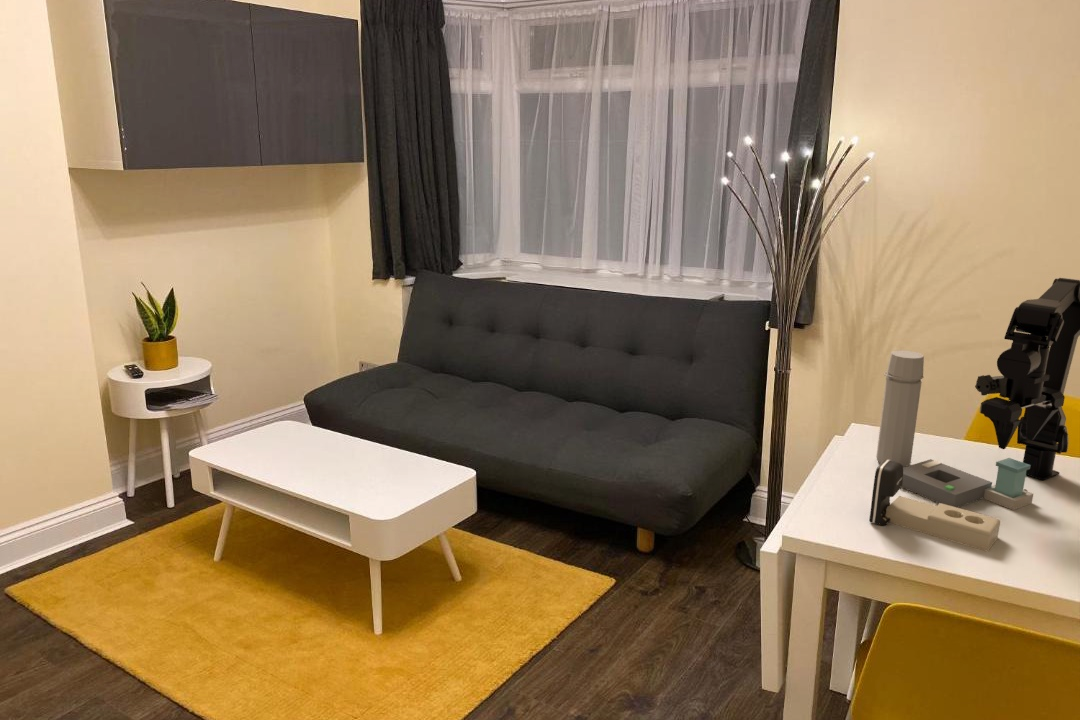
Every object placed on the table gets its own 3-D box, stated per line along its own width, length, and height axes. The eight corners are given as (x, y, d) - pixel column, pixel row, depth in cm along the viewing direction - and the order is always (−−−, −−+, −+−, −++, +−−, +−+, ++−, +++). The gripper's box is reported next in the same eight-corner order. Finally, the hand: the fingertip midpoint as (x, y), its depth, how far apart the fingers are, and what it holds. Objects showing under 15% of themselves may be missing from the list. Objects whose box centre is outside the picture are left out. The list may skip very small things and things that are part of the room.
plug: (1003, 494, 176) (1009, 457, 174) (1024, 502, 173) (1030, 465, 171) (990, 498, 174) (996, 461, 172) (1011, 507, 171) (1017, 469, 168)
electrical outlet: (900, 491, 168) (1001, 518, 157) (897, 510, 170) (997, 539, 159) (887, 503, 163) (990, 532, 152) (884, 523, 164) (987, 553, 153)
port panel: (928, 472, 187) (930, 457, 186) (989, 495, 175) (992, 480, 174) (892, 483, 181) (894, 468, 180) (953, 509, 169) (955, 493, 169)
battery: (889, 529, 161) (896, 472, 158) (868, 523, 163) (875, 467, 160) (899, 516, 166) (906, 460, 163) (878, 510, 168) (886, 456, 165)
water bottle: (917, 469, 188) (932, 359, 181) (881, 469, 188) (895, 358, 181) (900, 453, 197) (914, 347, 190) (866, 453, 197) (879, 347, 190)
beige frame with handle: (1009, 488, 179) (1011, 479, 179) (1040, 499, 174) (1042, 490, 173) (982, 497, 174) (984, 488, 174) (1013, 510, 169) (1014, 500, 169)
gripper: (1016, 351, 177) (1005, 423, 182) (960, 364, 168) (949, 439, 172) (1072, 365, 168) (1058, 440, 172) (1015, 379, 159) (1002, 458, 163)
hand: (1015, 444), depth 170 cm, fingers open, 9 cm apart
